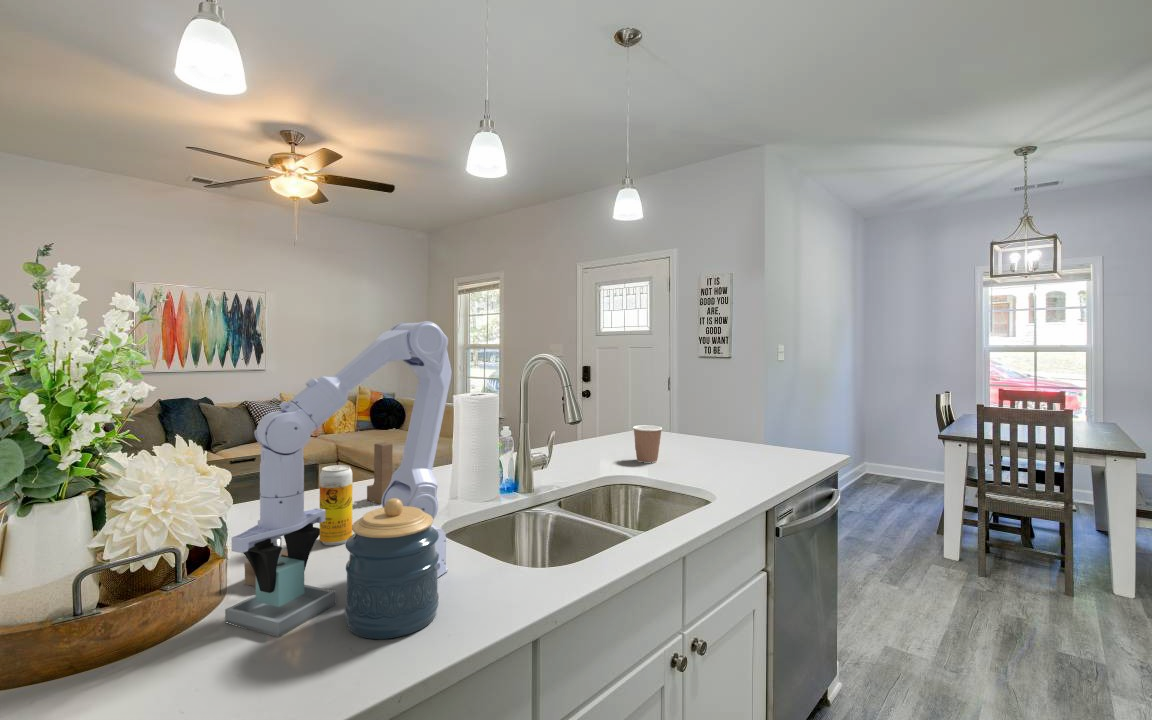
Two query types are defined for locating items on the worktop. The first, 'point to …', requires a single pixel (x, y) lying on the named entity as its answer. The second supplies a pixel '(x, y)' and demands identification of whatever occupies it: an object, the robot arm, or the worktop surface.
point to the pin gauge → (277, 544)
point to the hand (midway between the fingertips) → (282, 583)
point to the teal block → (284, 583)
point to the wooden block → (381, 471)
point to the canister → (391, 572)
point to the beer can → (336, 504)
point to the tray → (280, 612)
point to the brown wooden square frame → (249, 572)
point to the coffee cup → (647, 442)
